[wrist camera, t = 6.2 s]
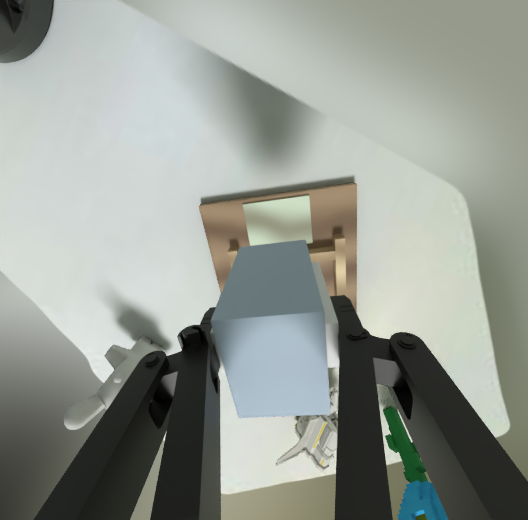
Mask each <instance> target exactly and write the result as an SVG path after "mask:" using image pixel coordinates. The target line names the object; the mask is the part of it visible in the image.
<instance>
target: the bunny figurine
mask: <svg viewBox="0 0 528 520" xmlns="http://www.w3.org/2000/svg"><path fill="white" fill-rule="evenodd" d="M158 350H159V351H161V350H162V347H161V346H159V345H157V344H156V343H153V344H151V340H149V339H147V338H146V337H144V336H142V337H141V338H140V339H139V340H138V341H137V342H136V344H135V345H134V346H133V347H132V349H131V350H129V349H126V348H123V347H120V346H117V345H113V346H112V347H110V349H109V350H108V351H107V353H106V354H105V357H106V359H107V360H108V361H109V363H110V364H111V365H112V367H113V368H114V371H113V373H112V374H111V375H110V376H109V378H108V379H107V380H106V381H105V383H104V384H103V385H102V387H101V388H100V389H99V391H98V392H97V394H95V395H93V396H91V397H89V398H87V399H85V400H83V401H81V402H79V403H78V404H75V405H74V406H72V407H70V408H69V409H68V410H67V411H66V412H65V416H64V424H65V426H66V427H67V429H70V430H76V429H79V428H81V427H83V426H84V425H85V424H86V423H87V422H89V421H90V420H91V419H92V418H93V417H94V416H95V415H96V414H98V413H99V412H100V411H101V410H102V409H103V408H106V410H107V409H108V407H109V406H110V404H111V403H112V401H113V400H114V398H115V397H116V395H117V394H118V392H119V391H120V389H121V388H122V386H123V385H124V383H125V382H126V380H127V379H128V377H129V376H130V374H131V373H132V371H133V370H134V368H135V367H136V365H137V364H138V362H139V361H140V360H141V359H142V358H143V357H144V356H145V355H147V354H148V353H151V352H153V351H158Z"/></svg>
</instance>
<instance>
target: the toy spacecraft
mask: <svg viewBox="0 0 528 520" xmlns="http://www.w3.org/2000/svg"><path fill="white" fill-rule="evenodd" d="M329 396H330V412H331V414H328V415H302V416H300V417H299V419H298V422H297V423H296V425H295V426H296V427H295V431H296V434H297V436H298V438H299V439H300V440H299V442H298V443H297V444H296V445H295V446H294V447H293V448H291V449H290V450H289V451H288V452H286V453H285V454H284V455H283V456H281V457H280V458H279V459H278V461H277V463H276V466H277V465H279V464H281V463H284V462H286V461H288V460H290V459H292V458H294V457H296V456H298V454H300V453H304V452H305V453H306V455H307V457H308V458H311V459H312V461H313V462H314V464H315V466H316V467H317V468H318V469H319V470H321V471H323V470H325V469H326V468H327V467H329V463H330V461H331V459H332V457H333V458H334V456H333V452H334V451H335V450H336V449H337V429H338V415H337V414H336V412H337V410H338V391H337V390H336V389H335V388H334V386H333V387H331V388H329Z"/></svg>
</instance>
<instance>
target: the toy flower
mask: <svg viewBox="0 0 528 520" xmlns="http://www.w3.org/2000/svg"><path fill="white" fill-rule="evenodd" d="M383 412H384V415H385V417H386V420H387V422H388V425H389V430H390V432H391V435H390V434H389V435H387V436H385V437H386V440H387V443H388V446H389V448H390V449H391V450H393V451H394V452H395V453H397V452H399V454H400V456H401V459H402V461H403V464H404V466H405V468H404V469H405V471H406V472H404V475H405V478H406V480H408V481H409V482H410V483H409V484H407V485H406V486H407V489H405V493H404V494H403V497H404V499H402V502H403V503H402V504H400V506H401V510H399V512H400V514H398V519H399V520H449V519H448V517H447V515H446V512H445V510H444V508H443V506H442V504H441V502H440V499H439V497H438V495H437V493H436V491H435V488H434V486H433V484H432V483H429V482H428V480H427V478H426V475H425V473H424V472H426V469H425V467H424V464H423V462H421V460H420V456H419V454H418V451H417V449H416V447H415V445H414V443H413V442H412V443H411V441H410V439H409V437H408V435H407V432H406V430H405V428H404V425H403V423H402V421H401V419H400V416H399V414H398V412H397V411H396V410H395V409H394V408H393V407H389V408H387V409H385V410H384V411H383Z"/></svg>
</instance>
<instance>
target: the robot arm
mask: <svg viewBox="0 0 528 520" xmlns="http://www.w3.org/2000/svg"><path fill="white" fill-rule="evenodd" d="M51 12H52V0H0V63H9V62H15V61H19V60H21V59H24V58H25V57H27V56H29V55H30V54H32V53H33V52H34V51H35V50H36V49H37V48H38V46H39V45H40V44H41V42H42V40H43V39H44V37H45V35H46V32H47V30H48V27H49V23H50V18H51ZM312 266H313V270H314V274H315V278H316V281H317V285H318V289H319V293H320V297H321V300H322V304H323V308H324V313H325V329H326V346H327V363H328V368H333V367H339V395H338V429H337V462H336V498H335V520H393V518H392V510H391V502H390V494H389V485H388V477H387V469H386V460H385V452H384V444H383V435H382V427H381V419H380V410H379V402H378V394H377V385H376V383H377V384H382V385H386V386H388V388H389V390H390V392H391V395H392V397H393V399H394V401H395V403H396V406H397V408H398V410H399V412H400V414H401V416H402V419H403V421H404V423H405V425H406V427H407V430H408V432H409V434H410V436H411V438H412V440H413V443H414V445H415V447H416V449H417V451H418V454H419V456H420V458H421V460H422V462H423V464H424V467H425V469H426V471H427V473H428V475H429V478H430V480H431V482H432V484H433V486H434V488H435V491H436V493H437V495H438V497H439V499H440V502H441V504H442V506H443V508H444V510H445V512H446V515H447V517H448V519H449V520H528V481H527V480H526V479H525V477H524V476H523V475H522V473H521V472H520V471H519V469H518V468H517V467H516V465H515V464H514V463H513V461H512V460H511V459H510V457H509V456H508V454H507V453H506V452H505V450H504V449H503V448H502V447H501V445H500V444H499V442H498V441H497V440H496V438H495V437H494V436H493V434H492V433H491V432H490V430H489V429H488V428H487V426H486V425H485V424H484V422H483V421H482V420H481V418H480V417H479V416H478V414H477V413H476V412H475V410H474V409H473V408H472V406H471V405H470V403H469V402H468V401H467V399H466V398H465V397H464V395H463V394H462V393H461V391H460V390H459V389H458V387H457V386H456V385H455V383H454V382H453V381H452V379H451V378H450V377H449V375H448V374H447V373H446V371H445V370H444V369H443V367H442V366H441V365H440V363H439V362H438V361H437V359H436V358H435V357H434V355H433V354H432V353H431V351H430V350H429V348H428V347H427V346H426V344H425V343H424V342H423V341H422V340H421V339H420V338H419V337H417V336H415V335H413V334H410V333H406V332H399V333H395V334H393V335H392V336H391V338H390V339H383V338H378V337H375V336H372V335H370V334H369V332H368V331H367V330H366V329H364V328H363V327H362V324H361V322H360V320H359V318H358V316H357V313H356V311H355V309H354V307H353V304H352V302H351V300H350V299H349V298H348V297H346V296H345V295H339V296H329V292H328V289H327V286H326V283H325V280H324V277H323V274H322V271H321V268H320V265H319V262H312ZM215 308H216V307H213V308H210V309H209V310H208V311H207V312H206V313H205V314H204V317H203V320H202V321H201V324H200V325H192V326H189V327H186V328H185V329H183V330H182V331H181V332H180V333H179V334H178V336H177V337H178V340H179V343H180V346H181V348H182V351H181V352H178V353H176V354H172V355H169V356H166V354H165V352H163V351H159V350H158V351H153V352H151V353H148V354H147V355H145V356H144V357H143V358H142V359H141V360H140V361H139V362H138V364H137V365H136V367H135V368H134V370H133V371H132V373H131V374H130V376H129V377H128V379H127V380H126V382H125V383H124V385H123V386H122V388H121V389H120V391H119V392H118V394H117V395H116V397H115V398H114V400H113V401H112V403H111V404H110V406H109V407H108V409H107V410H106V412H105V414H104V415H103V417H102V418H101V419H100V421H99V422H98V424H97V425H96V427H95V428H94V430H93V432H92V433H91V434H90V436H89V437H88V439H87V440H86V442H85V443H84V445H83V447H82V448H81V449H80V451H79V452H78V454H77V455H76V457H75V458H74V460H73V461H72V463H71V465H70V466H69V467H68V469H67V471H66V472H65V473H64V475H63V477H62V478H61V479H60V481H59V482H58V484H57V485H56V487H55V488H54V490H53V491H52V493H51V495H50V496H49V497H48V499H47V501H46V502H45V503H44V505H43V506H42V508H41V509H40V511H39V512H38V514H37V515H36V517H35V518H34V520H130V518H131V516H132V513H133V511H134V509H135V506H136V504H137V501H138V498H139V496H140V494H141V491H142V489H143V487H144V484H145V482H146V479H147V477H148V474H149V472H150V469H151V467H152V465H153V462H154V460H155V457H156V455H157V453H158V450H159V447H160V445H161V442H162V440H163V438H164V435H165V433H166V431H167V433H166V438H165V443H164V449H163V455H162V459H161V465H160V471H159V476H158V481H157V486H156V492H155V497H154V502H153V508H152V513H151V518H150V520H221V503H220V502H221V497H220V496H221V485H220V380H219V376H218V372H219V368H221V372H222V374H226V373H225V369H224V366H223V362H222V359H221V356H220V352H219V349H218V345H217V342H216V338H215V335H214V331H213V328H212V325H211V318H212V316H213V313H214V311H215Z"/></svg>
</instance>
